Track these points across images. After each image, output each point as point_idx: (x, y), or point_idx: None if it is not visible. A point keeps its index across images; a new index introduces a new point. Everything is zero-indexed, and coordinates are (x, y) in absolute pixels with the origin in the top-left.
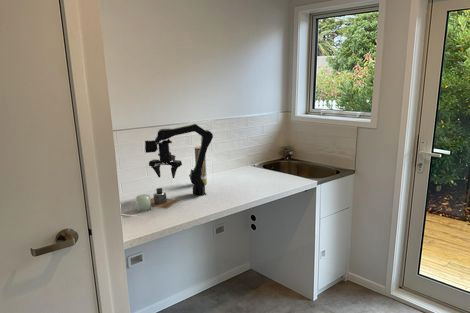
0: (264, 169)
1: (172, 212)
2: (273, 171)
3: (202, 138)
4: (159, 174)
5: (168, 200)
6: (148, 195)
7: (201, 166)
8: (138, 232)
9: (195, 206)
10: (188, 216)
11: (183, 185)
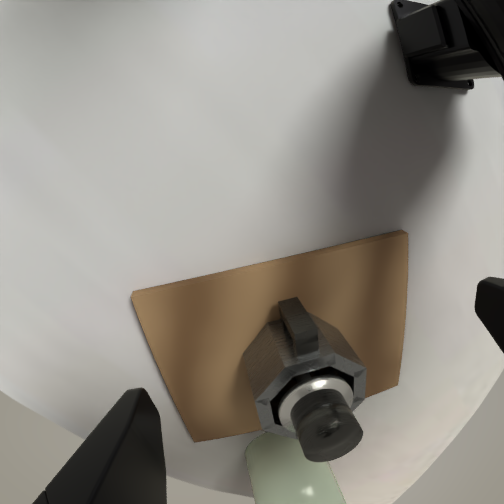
0: None
1: (430, 379)
2: None
3: None
4: (147, 463)
5: (322, 292)
6: (324, 502)
7: None
8: (388, 494)
9: (497, 253)
10: (494, 357)
11: None
